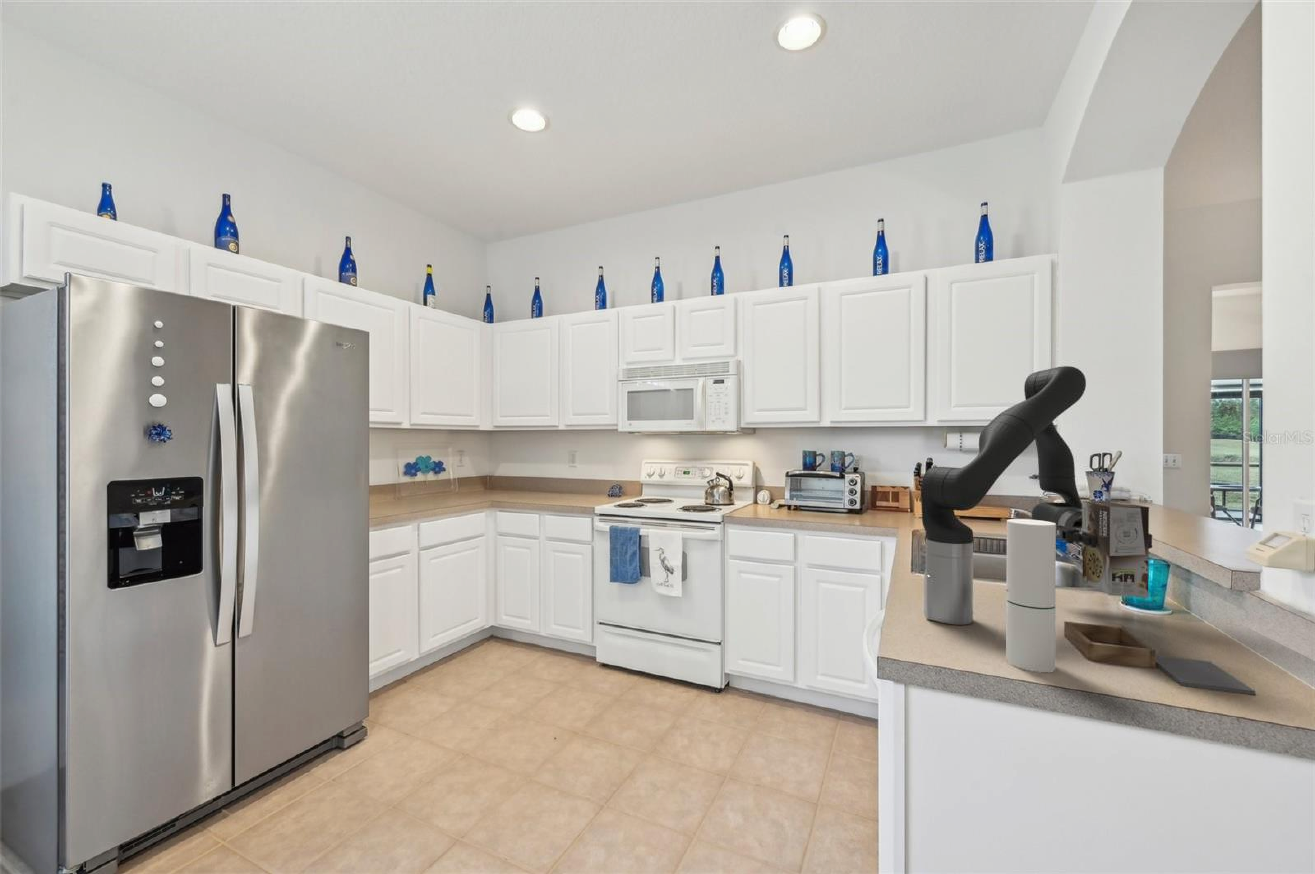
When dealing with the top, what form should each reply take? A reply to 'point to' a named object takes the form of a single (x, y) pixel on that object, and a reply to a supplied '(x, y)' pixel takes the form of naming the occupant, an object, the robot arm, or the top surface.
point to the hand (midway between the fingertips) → (1119, 543)
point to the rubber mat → (1200, 674)
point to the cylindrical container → (1031, 594)
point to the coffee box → (1116, 548)
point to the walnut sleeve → (1126, 654)
